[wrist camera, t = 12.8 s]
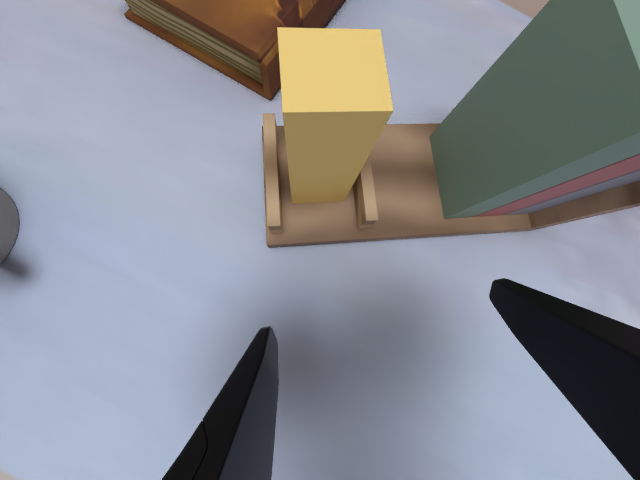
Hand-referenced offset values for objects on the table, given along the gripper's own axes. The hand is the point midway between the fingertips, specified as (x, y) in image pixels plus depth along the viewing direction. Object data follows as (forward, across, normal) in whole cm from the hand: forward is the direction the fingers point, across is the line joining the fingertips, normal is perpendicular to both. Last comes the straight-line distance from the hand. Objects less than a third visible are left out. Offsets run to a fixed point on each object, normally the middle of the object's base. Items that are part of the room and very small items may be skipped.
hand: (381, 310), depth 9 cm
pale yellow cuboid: (+16, +1, -1) cm, 16 cm away
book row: (+16, -16, +2) cm, 23 cm away
